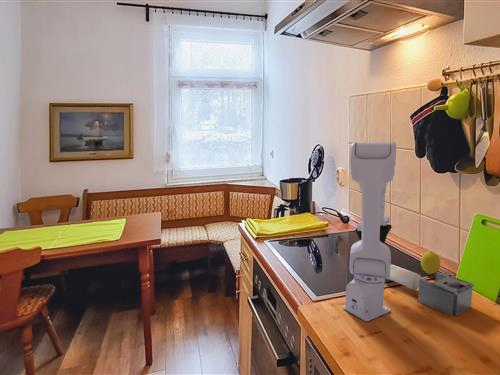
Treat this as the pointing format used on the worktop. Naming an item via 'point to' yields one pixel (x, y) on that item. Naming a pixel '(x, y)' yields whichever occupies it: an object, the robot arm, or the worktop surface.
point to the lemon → (430, 262)
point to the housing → (446, 294)
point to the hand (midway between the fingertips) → (373, 249)
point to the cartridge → (404, 277)
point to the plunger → (453, 284)
